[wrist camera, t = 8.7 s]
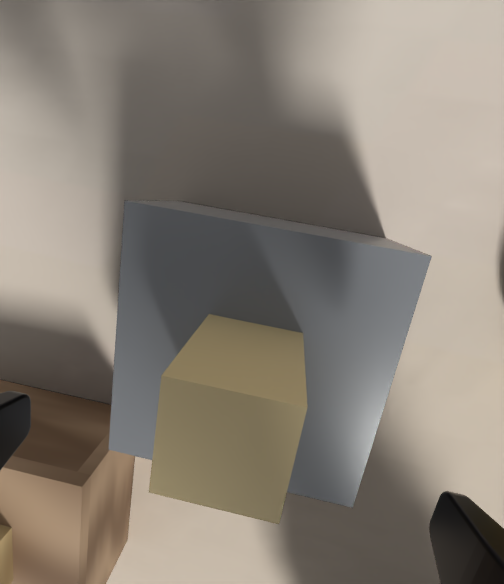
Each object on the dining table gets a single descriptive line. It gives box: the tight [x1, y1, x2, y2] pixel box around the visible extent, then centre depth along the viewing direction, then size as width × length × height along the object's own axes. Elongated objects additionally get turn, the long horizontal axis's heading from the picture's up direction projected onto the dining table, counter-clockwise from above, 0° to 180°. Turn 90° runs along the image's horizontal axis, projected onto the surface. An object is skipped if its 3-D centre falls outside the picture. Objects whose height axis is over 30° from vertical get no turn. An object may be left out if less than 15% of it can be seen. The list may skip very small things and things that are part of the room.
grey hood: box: [108, 201, 432, 524], centre depth 12 cm, size 9×9×9 cm
